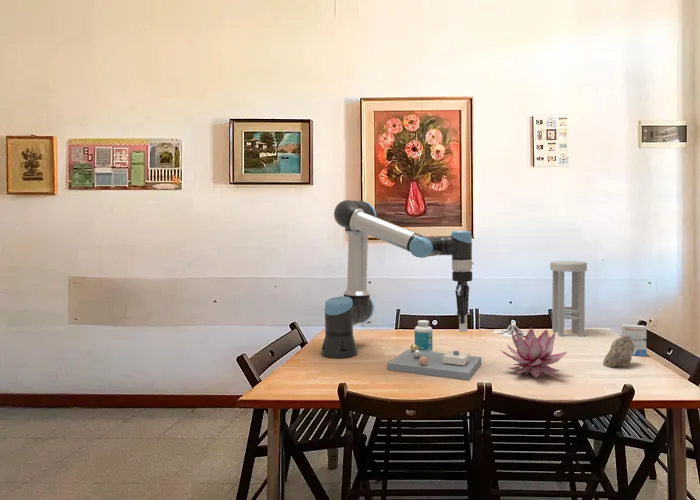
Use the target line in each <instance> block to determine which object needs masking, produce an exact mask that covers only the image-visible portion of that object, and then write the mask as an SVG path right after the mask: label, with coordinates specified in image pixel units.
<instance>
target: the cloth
mask: <svg viewBox="0 0 700 500" xmlns="http://www.w3.org/2000/svg"><path fill="white" fill-rule="evenodd" d="M517 328H518V326H517V325H516V323H514V322H511V323H510V325H509V326H508V327H507V328H506V329H505V328H503V329H496V330H494V331H493V332H494V333H498V334H497V335H500V338H507V339H512V334H511V331H512V332H513V334H514V336H515V338H517V335H516V332H517ZM518 331H519V334H520V336H521V337H522V338H525V337H526V335H527V333H528V331H523V330H521V329H520V328H518ZM494 333H493V334H494ZM534 334H535V336H536V333H535V332H534ZM536 337H537V336H536Z"/></svg>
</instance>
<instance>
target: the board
mask: <svg viewBox="0 0 700 500" xmlns="http://www.w3.org/2000/svg"><path fill="white" fill-rule="evenodd" d="M446 353H447V352H436V351H432V352H428V351H421V354H422V355H421V357H422V356H425V357H426V358H427V359H428V363H427V364H426V365H421V364H420V363H419V358H415V357H414V356H413V352H412V351H411V349H410V348H407V349H405V350H404V351H403V352H401V353H400V354H398V355H397V356H395V357H394V358H393V359H391V360H389V361H388V362H387V363H386V368H387V369H386V370H387V371H393V372H402V373H403V372H404V373H409V374H415V375H416V374H418V375H425V376H433V377H439V376H440V378H449V379H455V380H457V379H458V380H462V381H464V380H465V381H470V379H471V378H472V376H474V374H475V373H476V371H477V370H478V369H479V368H480V366H481V365H482V356H473V355H469V361H468V362H467V363H466V364H465V365H456V364H447V363H443V355H444V354H446Z"/></svg>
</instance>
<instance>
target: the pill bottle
mask: <svg viewBox="0 0 700 500" xmlns="http://www.w3.org/2000/svg"><path fill="white" fill-rule="evenodd" d="M414 344H416V345H417V346H418V350H420V351H428V352H433V328H432V327H431V326H430V321H429V320H426V319H425V320H424V319H423V320H421V319H420V320H417V325H416V326H415V327H414Z"/></svg>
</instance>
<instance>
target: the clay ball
mask: <svg viewBox="0 0 700 500" xmlns="http://www.w3.org/2000/svg"><path fill="white" fill-rule="evenodd" d="M419 363H420V364H421V365H426V364H427V363H428V359H427V358H426V357H425V356H422V357H420V358H419Z"/></svg>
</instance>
